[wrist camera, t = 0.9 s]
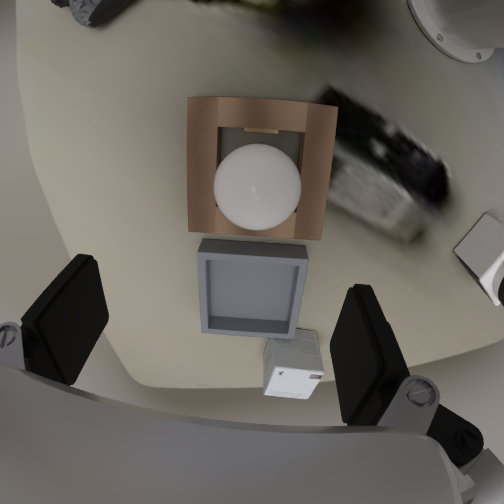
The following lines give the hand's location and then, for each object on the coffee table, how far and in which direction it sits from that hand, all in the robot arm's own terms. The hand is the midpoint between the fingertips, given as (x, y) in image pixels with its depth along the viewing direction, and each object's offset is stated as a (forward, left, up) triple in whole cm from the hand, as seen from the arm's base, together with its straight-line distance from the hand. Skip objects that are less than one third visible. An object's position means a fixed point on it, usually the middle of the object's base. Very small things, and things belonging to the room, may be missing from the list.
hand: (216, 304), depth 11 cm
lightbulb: (-1, -1, -21) cm, 21 cm away
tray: (-1, +13, -21) cm, 25 cm away
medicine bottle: (-31, +6, -21) cm, 38 cm away
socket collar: (-1, 0, -21) cm, 21 cm away
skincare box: (-7, +23, -21) cm, 32 cm away
